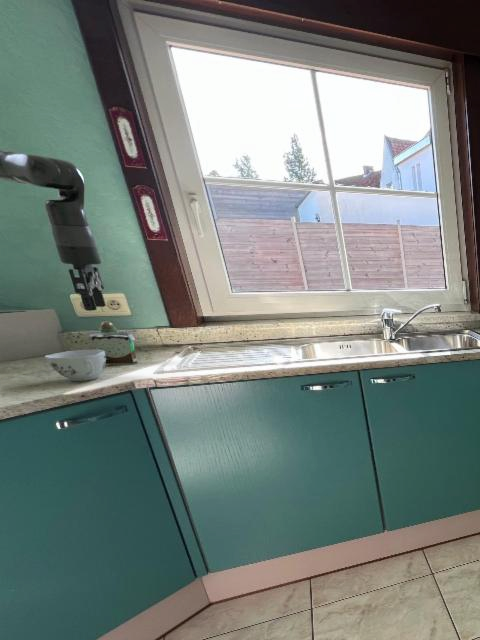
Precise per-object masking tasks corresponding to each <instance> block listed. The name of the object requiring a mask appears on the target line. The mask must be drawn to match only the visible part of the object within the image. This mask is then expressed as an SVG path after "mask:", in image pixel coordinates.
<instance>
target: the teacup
mask: <svg viewBox="0 0 480 640" xmlns="http://www.w3.org/2000/svg"><path fill="white" fill-rule="evenodd" d="M44 358H45V360H46V361H47V363H48V364H49V366H50V367H51V368H52V369H53V370H54V371H55V372H56V373H58V374H59V375H60V376H62V377H64V378H66V379H69V380H70V381H72V382H86V381H92V380H96V379H98V378H99V377H100V375H101V374H103V372H104V370H105V367H106V365H107V364H106V356H105V352H104V351H103V350H96V349H81V350H79V349H76V350H67V351H61V352H55V353H51V354H46V355H45V356H44Z"/></svg>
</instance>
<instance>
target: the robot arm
mask: <svg viewBox="0 0 480 640" xmlns="http://www.w3.org/2000/svg"><path fill="white" fill-rule="evenodd" d="M0 180H1V181H5V182H11V183H18V184H26V185H30V186H35V187H39V188H47V189H55V190H57V197H56V198H50V199H46V200H45V201H44V203H43V204H44V208H45V212H46V216H47V218H48V222H49V224H50V229H51V234H52V235H51V236H52V238H53V242H54V244H55V247H56V250H57V253H58V256H59V260H60V262H61V263H63V264H64V265H65V264H67V265H69V264H70V265H72V268H69V269H68V273H69V276H70V279H71V283H72V285H73V289H74V292H75V294H76V295H78V296H80V298H81V301H82V304H83V308H84V310H85V311H97V309H98V307H99V308H100V307H101V308H104V307H106V301H105V298H104V295H103V292H104V290H105V286H104V284H103V281H102V277H101V275H100V271H99V268H98V267H97V266H93V265H100V264H102V259H101V257H100V254H99V251H98V248H97V247H98V246H97V244H96V241H95V237H94V235H93V233H92V231H91V228H90V226H89V225H90V224H89V222H88V219H87V214H86V212H85V195H86V194H85V193H86V192H85V191H86V184H85V179H84V176H83V174H82V172H81V170H80V169H79V168H78V167H77V165H75V164H74V163H73V162H70V161H69V160H66V159H62V158H56V157H50V156H44V155H38V154H32V153H31V154H30V153H22V152H17V151H11V150H5V149H0Z"/></svg>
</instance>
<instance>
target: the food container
mask: <svg viewBox="0 0 480 640" xmlns="http://www.w3.org/2000/svg"><path fill="white" fill-rule="evenodd" d="M88 338H89V341H90V342H92V344H93V346H94V349H95V350H103V351H104V352H105V356H106V364H105V365H136V364H138V360H137V354H136V350H135V345H134V341H135V340H136V338H135V337H134V335H133V334H132V333H131V332H126V331H121V332H120V331H118V332H111V333H100V332H97V333H91V334H89V337H88Z"/></svg>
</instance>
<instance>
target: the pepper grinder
mask: <svg viewBox="0 0 480 640" xmlns="http://www.w3.org/2000/svg"><path fill="white" fill-rule="evenodd" d="M98 329H99V333H111V332H119V329H118V327H117V326H116V327H115V325H114V323H113V322H111V321H107V320H105V321H102V322H101V323H100V328H98Z"/></svg>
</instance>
